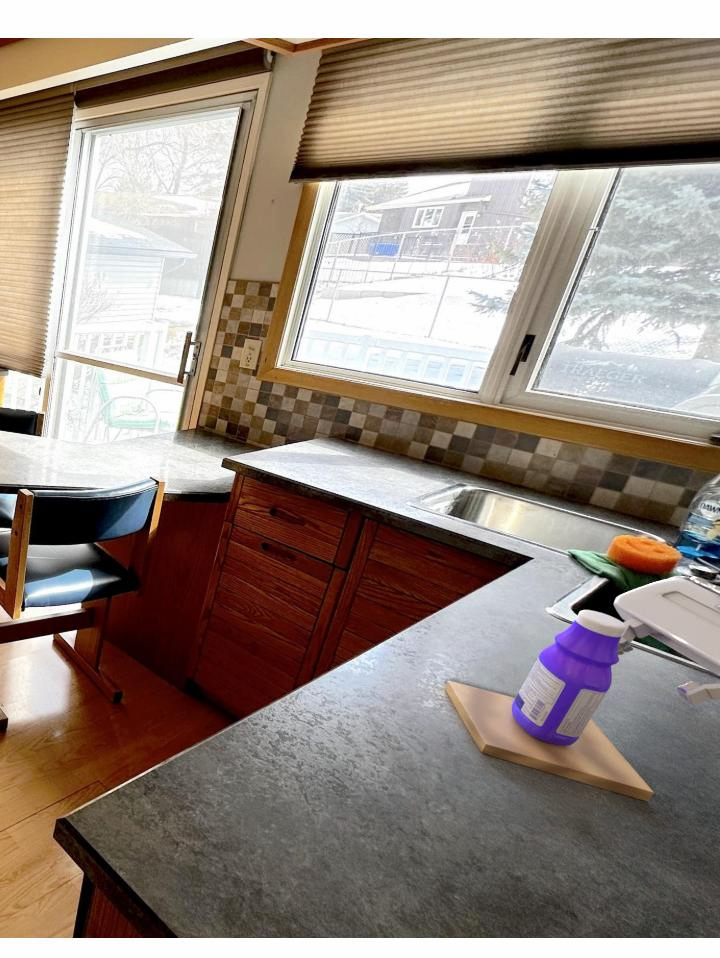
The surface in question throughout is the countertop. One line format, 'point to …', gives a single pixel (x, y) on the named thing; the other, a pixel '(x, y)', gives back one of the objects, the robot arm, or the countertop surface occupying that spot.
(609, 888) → the countertop surface
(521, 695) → the bottle
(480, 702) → the board
